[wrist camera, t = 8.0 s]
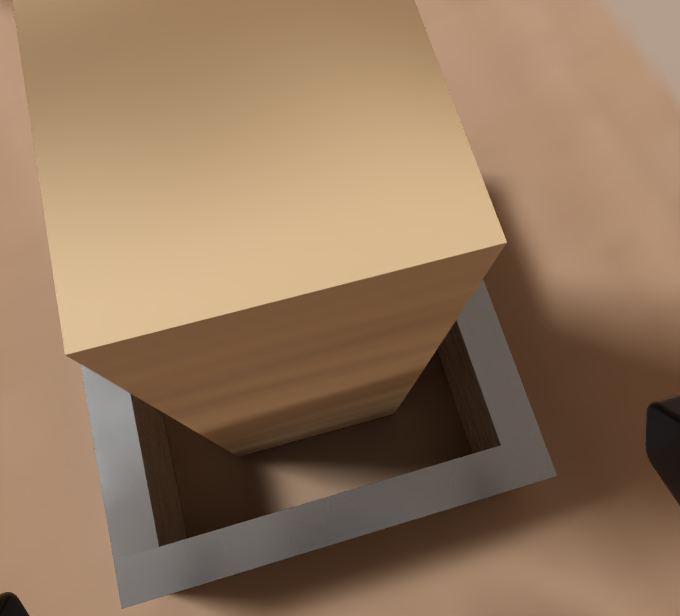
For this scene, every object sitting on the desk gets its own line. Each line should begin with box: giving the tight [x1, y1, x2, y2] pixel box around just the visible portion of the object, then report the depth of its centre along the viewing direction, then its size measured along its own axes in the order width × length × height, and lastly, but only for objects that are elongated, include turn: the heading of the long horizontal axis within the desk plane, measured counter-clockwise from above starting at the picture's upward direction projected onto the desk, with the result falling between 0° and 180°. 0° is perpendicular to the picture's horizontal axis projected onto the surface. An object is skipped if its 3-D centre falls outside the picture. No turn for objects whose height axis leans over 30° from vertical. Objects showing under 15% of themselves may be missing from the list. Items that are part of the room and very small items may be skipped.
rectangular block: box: [12, 0, 507, 457], centre depth 13 cm, size 4×4×12 cm
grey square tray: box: [81, 280, 557, 609], centre depth 17 cm, size 10×10×3 cm
